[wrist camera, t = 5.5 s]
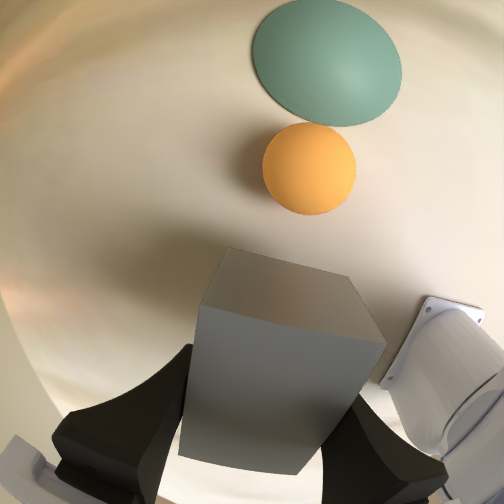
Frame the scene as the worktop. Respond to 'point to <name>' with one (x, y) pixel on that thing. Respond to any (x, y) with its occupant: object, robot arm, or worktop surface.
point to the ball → (309, 168)
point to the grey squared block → (274, 363)
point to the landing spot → (327, 62)
